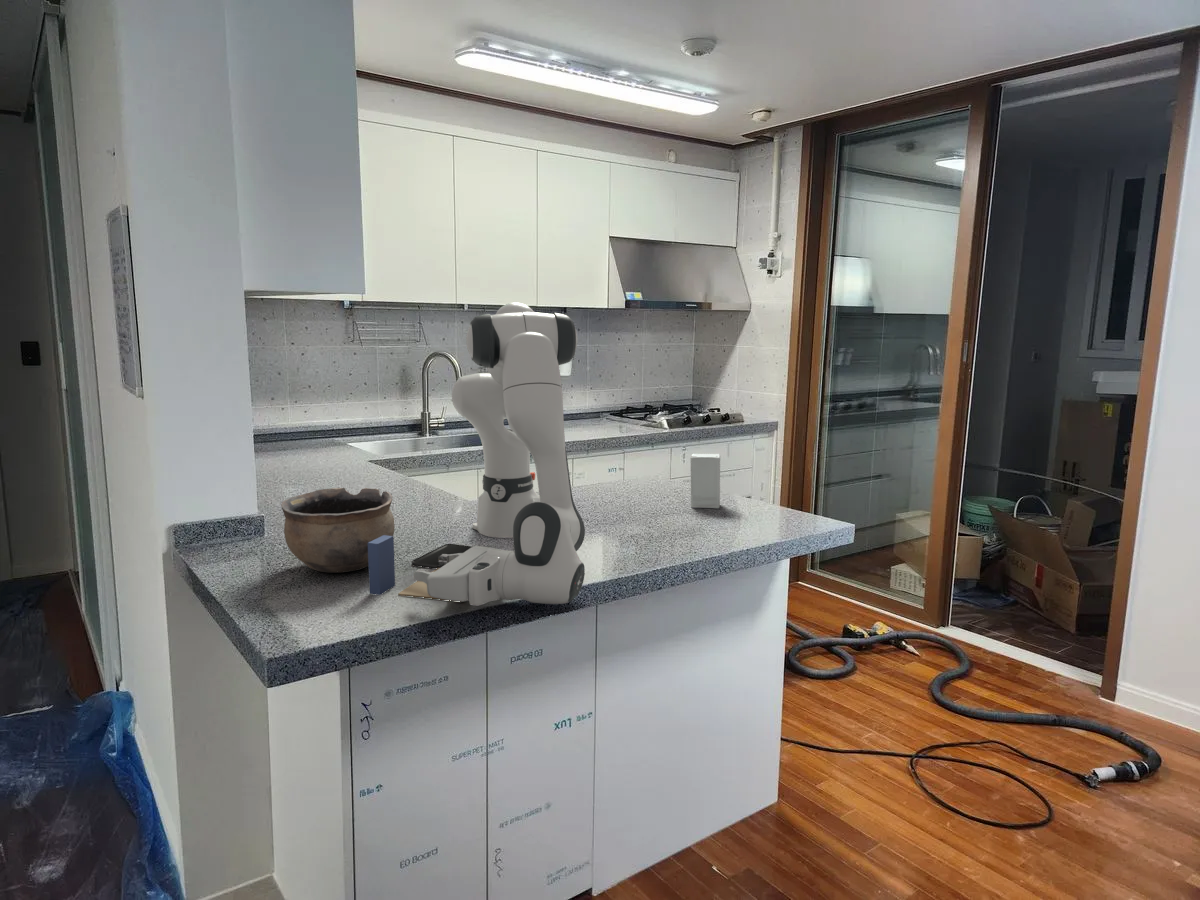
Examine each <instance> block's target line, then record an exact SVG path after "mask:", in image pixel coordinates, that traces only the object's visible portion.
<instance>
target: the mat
mask: <svg viewBox="0 0 1200 900" xmlns="http://www.w3.org/2000/svg"><path fill="white" fill-rule="evenodd" d="M438 569H439V568H437V569H434V570H432V571H431V572H435V571H436V570H438ZM399 595H401V597H407V596H413V597H412V598H416V597H424V598H423V599H425V598H432V599H431V600H433V599H439V598H434V597H431V596H430V595H429V594H428V593H427V584H426V583H424V582H423V581H415V582H414V583H412V584H410V585H408V586H407V587H406V588H404V589H403V590H401V591H400V592H398V593H397V596H399ZM442 600H444V599H440V600H439V601H442ZM448 602H450V600H449V601H448Z"/></svg>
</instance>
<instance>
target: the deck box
mask: <svg viewBox="0 0 1200 900" xmlns="http://www.w3.org/2000/svg"><path fill="white" fill-rule="evenodd" d="M394 541H395V539H394V535H393V536H386V535H383V536H381V537H379V538H377V539H375V540H373V541H371V542H368V564H369V566H368V584H369V594H370V595H375V594H376V595H377V596H381V595H382V593H383V594H385V591H386V592H387V591H389V590H391V589H392V588H394V587H396V573H395V572H396V571H395V570H396V569H395V565H396V564H395V543H394ZM393 586H394V587H393ZM391 587H392V588H391ZM390 588H391V589H390ZM388 589H389V590H388Z"/></svg>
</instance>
